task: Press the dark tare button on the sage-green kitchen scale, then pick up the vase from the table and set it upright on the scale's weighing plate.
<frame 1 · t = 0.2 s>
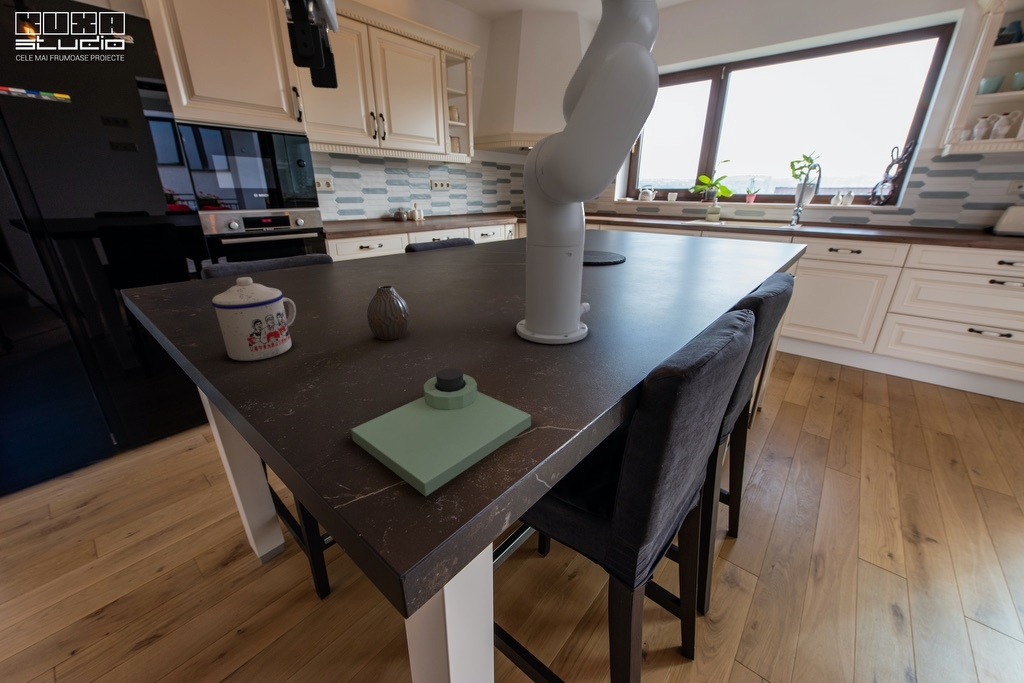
hand: (318, 78, 49), 37 cm above the table, tool pointing down, fingers open, 9 cm apart
teacup with lid: (269, 348, 64), on the table
tare button: (450, 380, 45), point 4 cm above the table, slide at 0.1 cm
scale: (444, 433, 41), on the table
vase: (391, 337, 69), on the table
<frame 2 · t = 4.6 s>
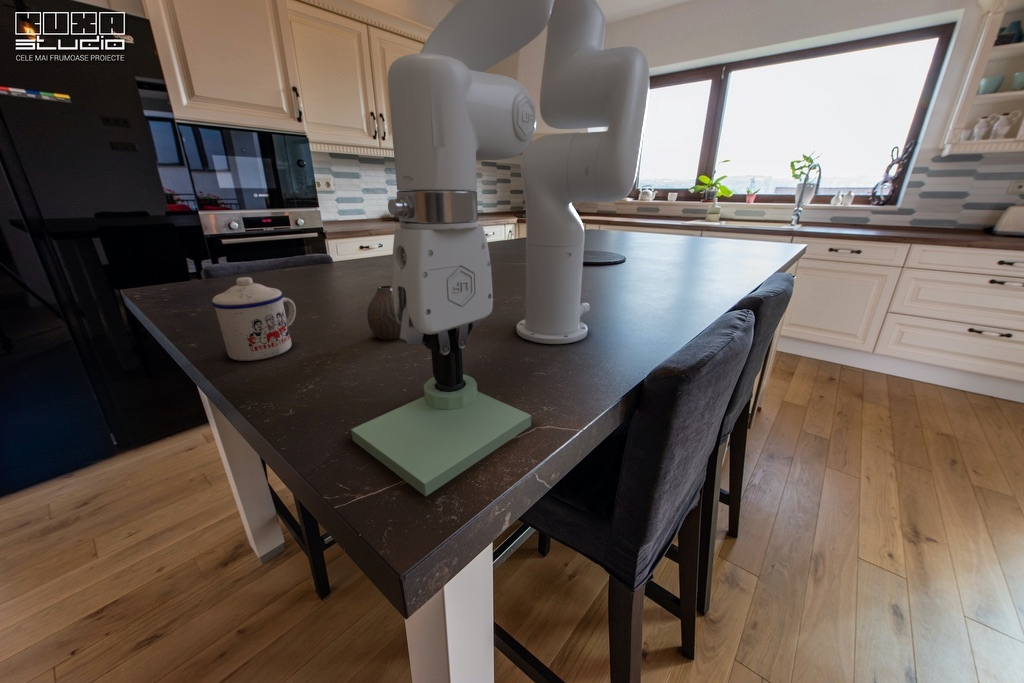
hand: (448, 381, 45), 4 cm above the table, tool pointing down, fingers closed
tare button: (450, 387, 45), point 3 cm above the table, slide at -0.8 cm, touching gripper
everything else where it was.
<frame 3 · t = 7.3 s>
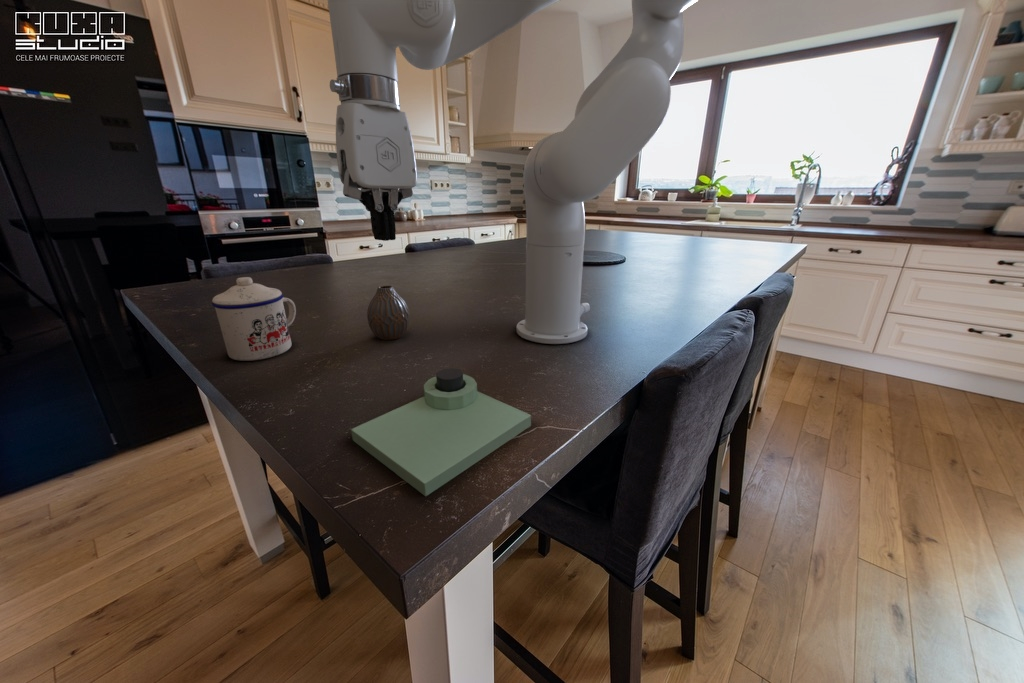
hand: (384, 239, 59), 17 cm above the table, tool pointing down, fingers closed
tare button: (450, 380, 45), point 4 cm above the table, slide at 0.1 cm
everything else where it was.
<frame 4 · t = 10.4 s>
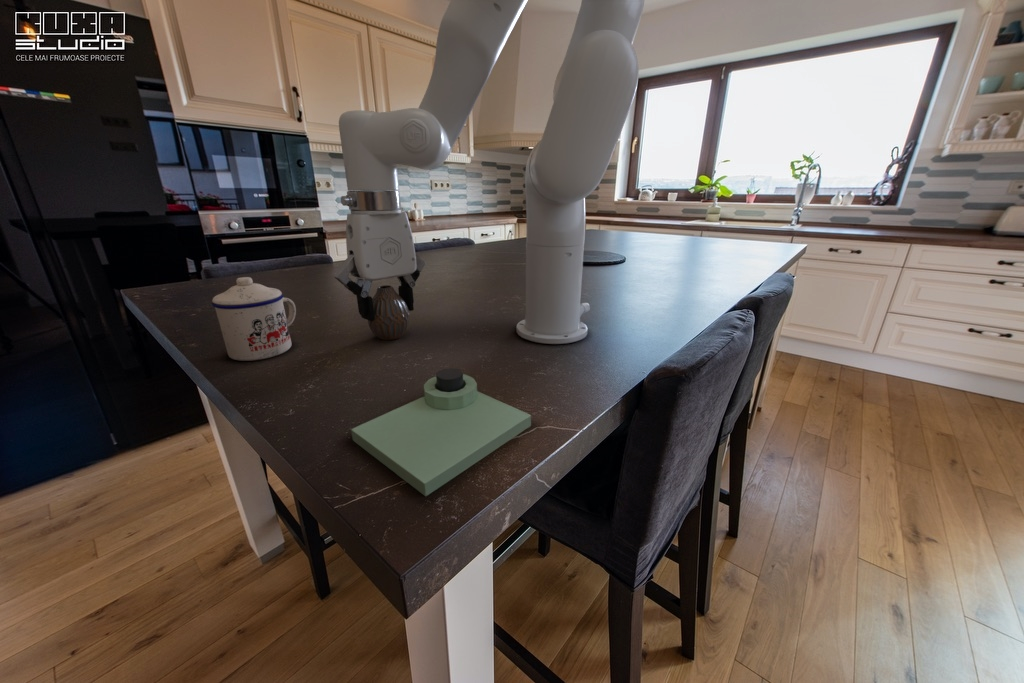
hand: (388, 313, 67), 4 cm above the table, tool pointing down, fingers closed on vase, 6 cm apart
vase: (391, 337, 69), on the table, touching gripper
everything else where it was.
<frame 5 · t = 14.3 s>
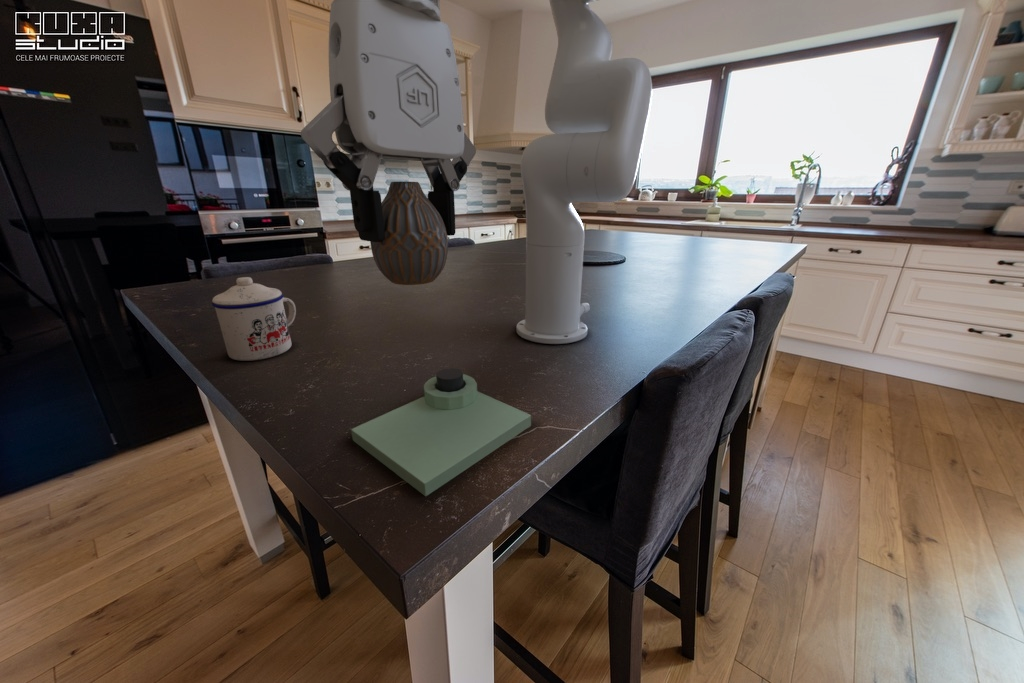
hand: (409, 235, 36), 20 cm above the table, tool pointing down, fingers closed on vase, 6 cm apart
vase: (413, 282, 38), point 15 cm above the table, touching gripper
everything else where it was.
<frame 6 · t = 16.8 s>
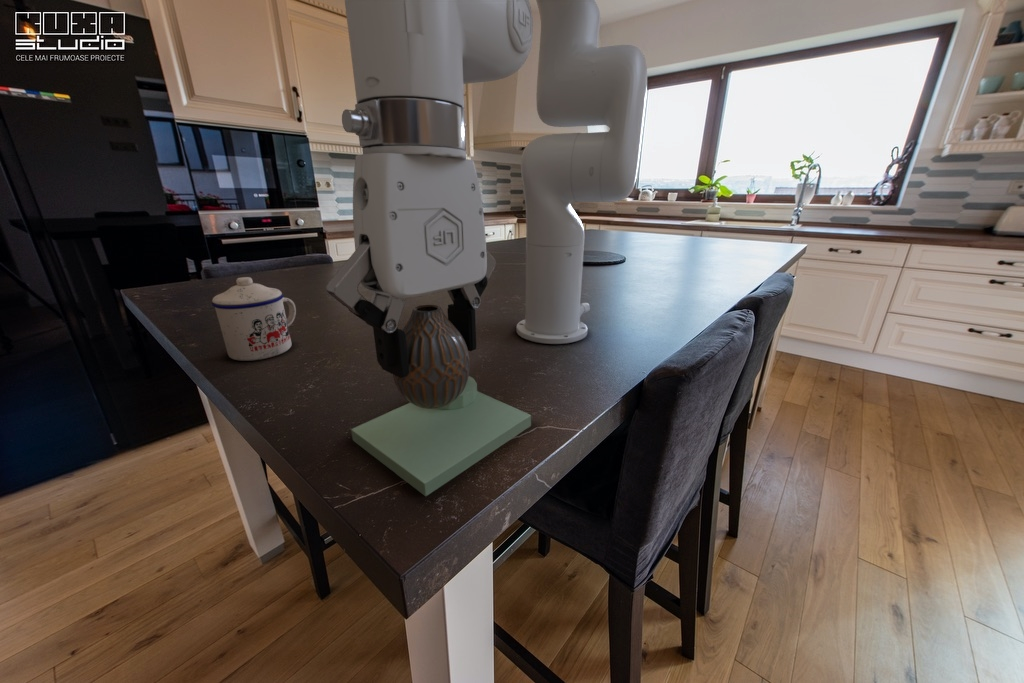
hand: (431, 357, 35), 10 cm above the table, tool pointing down, fingers closed on vase, 6 cm apart
vase: (434, 400, 37), point 5 cm above the table, touching gripper
everything else where it was.
when the fingers open (6 cm above the table, at t = 18.6 s): vase stays where it is, resting on scale.
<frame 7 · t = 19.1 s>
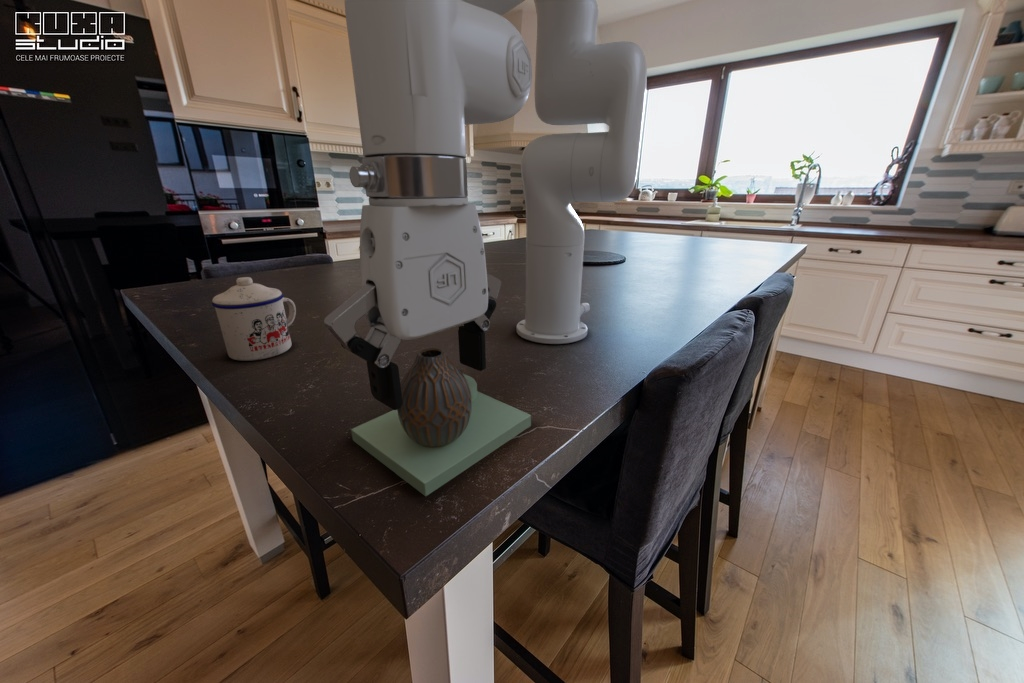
hand: (434, 383, 37), 7 cm above the table, tool pointing down, fingers open, 9 cm apart
vase: (437, 437, 39), point 1 cm above the table, touching scale
everything else where it was.
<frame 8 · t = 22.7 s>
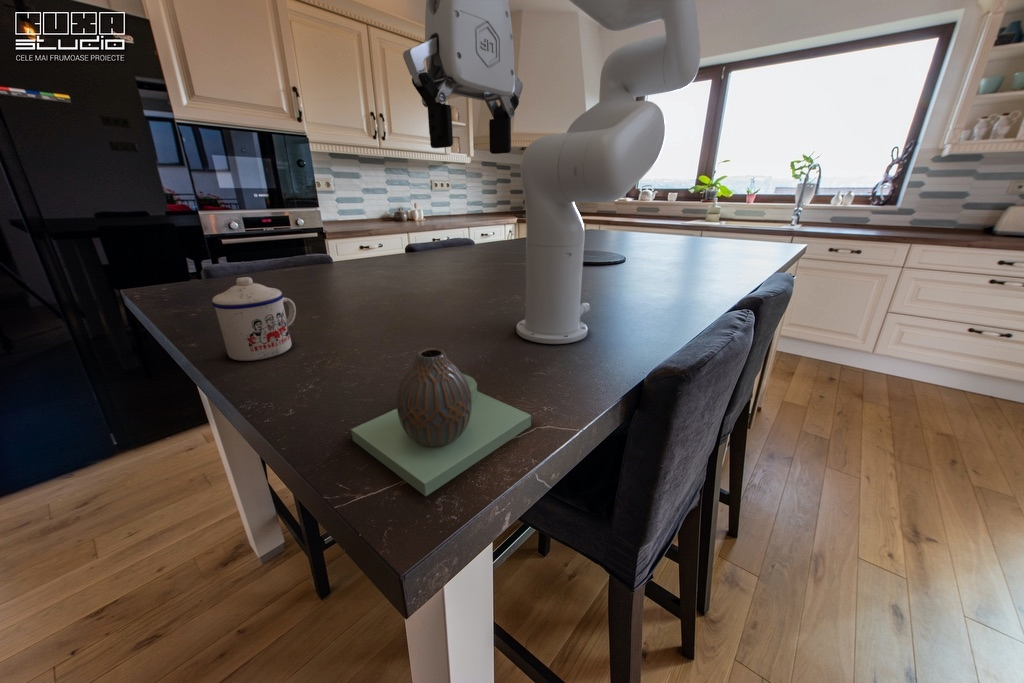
hand: (473, 150, 48), 28 cm above the table, tool pointing down, fingers open, 9 cm apart
nothing on the table moved.
at the end: tare button pushed in 0.9 cm at the most during the clip, back to where it started at the end; vase inside the target area on the scale (0.5 cm from its centre), point 1.2 cm above the scale's base; vase touching scale; vase tilted 0° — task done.
